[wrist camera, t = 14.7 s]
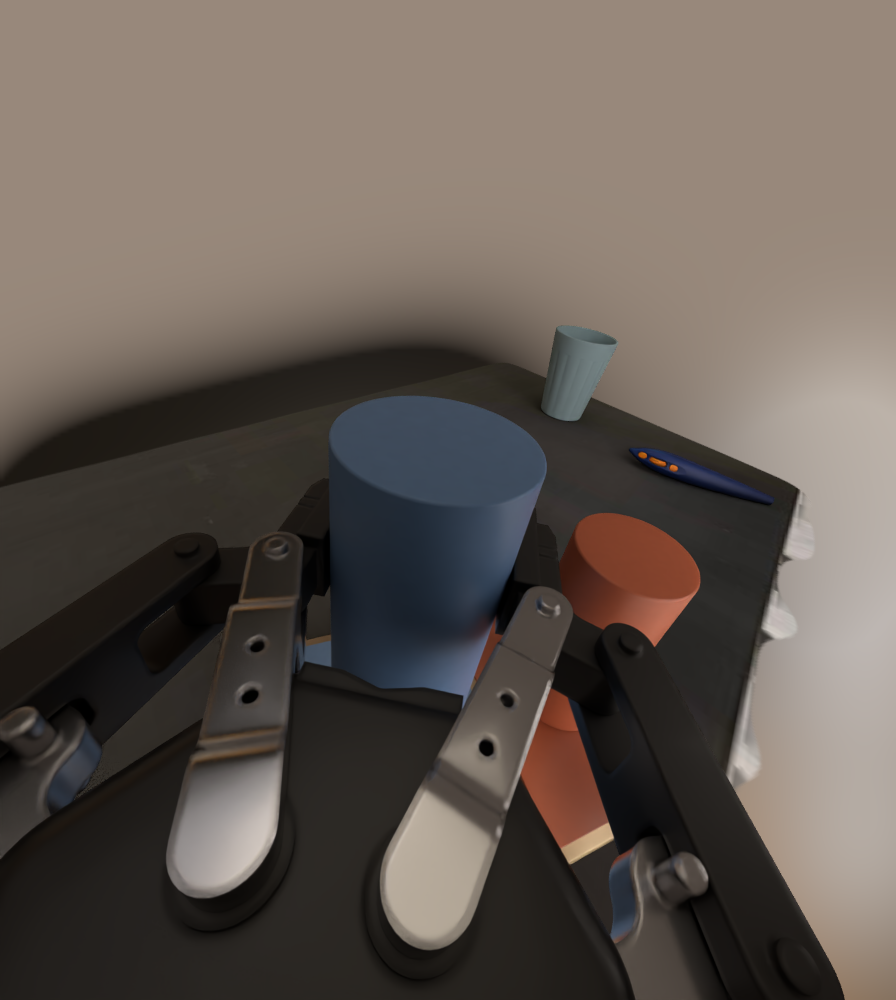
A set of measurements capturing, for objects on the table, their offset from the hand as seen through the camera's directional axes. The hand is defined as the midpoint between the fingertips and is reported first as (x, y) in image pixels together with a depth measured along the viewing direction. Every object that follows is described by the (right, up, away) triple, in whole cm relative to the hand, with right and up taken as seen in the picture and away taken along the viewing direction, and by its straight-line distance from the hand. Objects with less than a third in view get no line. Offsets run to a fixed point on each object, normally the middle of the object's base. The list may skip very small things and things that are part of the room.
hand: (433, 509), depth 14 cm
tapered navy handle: (+28, +2, +33) cm, 43 cm away
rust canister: (+6, -10, +8) cm, 14 cm away
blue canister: (-1, -6, +1) cm, 7 cm away
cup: (+16, +12, +43) cm, 47 cm away
